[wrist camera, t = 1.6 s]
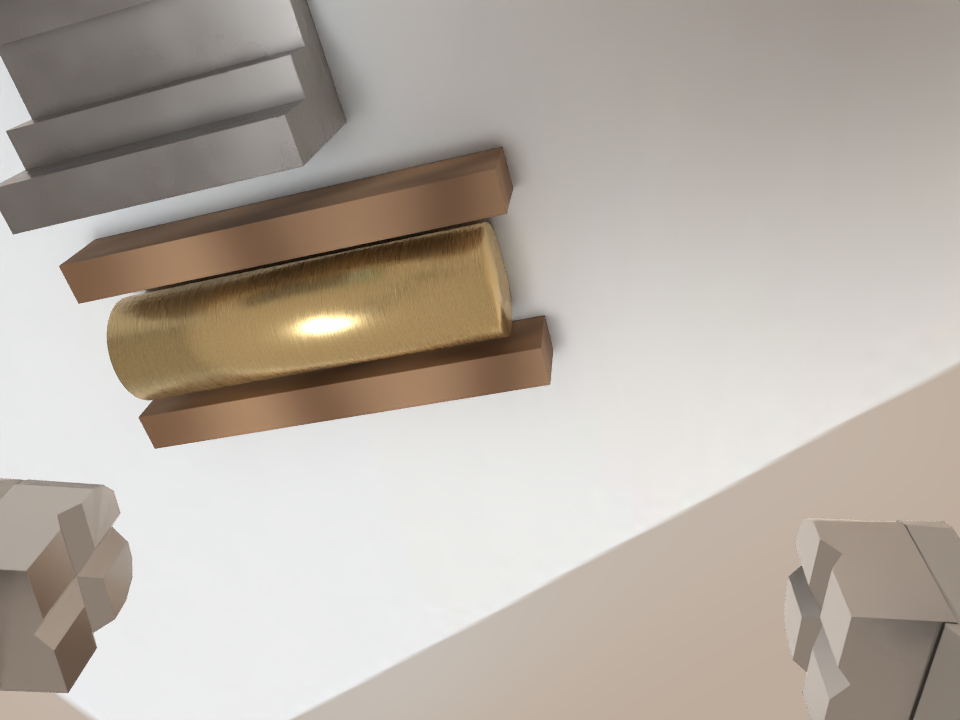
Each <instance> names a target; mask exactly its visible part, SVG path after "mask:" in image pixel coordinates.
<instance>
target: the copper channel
mask: <svg viewBox="0 0 960 720" xmlns="http://www.w3.org/2000/svg"><path fill="white" fill-rule="evenodd" d="M512 191H513V187H512V183H511V179H510V175H509V171H508V167H507V163H506V159H505V155H504V151H503V147H499V148H495V149H491V150H486V151H482V152H478V153H473V154H469V155H464V156H460V157H456V158H451V159H447V160H443V161H438V162H434V163H429V164H425V165H421V166H416V167H412V168H407V169H403V170H399V171H394V172H390V173H386V174H381V175H377V176H372V177H368V178H364V179H359V180H355V181H351V182H346V183H342V184H337V185H333V186H329V187H324V188H320V189H316V190H311V191H307V192H302V193H298V194H294V195H289V196H285V197H280V198H276V199H272V200H267V201H263V202H259V203H254V204H250V205H245V206H241V207H237V208H232V209H228V210H224V211H219V212H215V213H210V214H206V215H202V216H197V217H193V218H188V219H184V220H180V221H175V222H171V223H167V224H162V225H158V226H153V227H149V228H145V229H140V230H136V231H132V232H127V233H123V234H118V235H114V236H110V237H105V238H101V239H96V240H94V241H92V242H91V243H90V244H88V245H87V246H86V247H84V248H83V249H82V250H80V251H79V252H78V253H76V254H75V255H73V256H72V257H71V258H69V259H68V260H67V261H65V262H64V263H63V264H61V265H60V266H59V267H60V269H61V271H62V273H63V275H64V277H65V279H66V280H67V282H68V284H69V286H70V288H71V290H72V292H73V294H74V296H75V298H76V299H77V301H78V303H79V304H80V303H84V302H89V301H94V300H99V299H103V298H108V297H113V296H118V295H122V294H127V293H132V292H137V291H141V290H146V289H151V288H156V287H160V286H165V285H170V284H175V283H179V282H184V281H189V280H194V279H199V278H203V277H208V276H213V275H218V274H222V273H227V272H232V271H237V270H241V269H246V268H251V267H256V266H260V265H265V264H270V263H275V262H279V261H284V260H289V259H294V258H298V257H303V256H308V255H313V254H318V253H322V252H327V251H332V250H337V249H341V248H346V247H351V246H356V245H360V244H365V243H370V242H375V241H379V240H384V239H389V238H394V237H398V236H403V235H408V234H413V233H417V232H422V231H427V230H432V229H437V228H441V227H446V226H451V225H456V224H460V223H465V222H470V221H475V220H479V219H484V218H489V217H494V216H498V215H503V214H507V210H508V206H509V203H510V199H511V195H512ZM552 357H553V348H552V344H551V340H550V336H549V332H548V328H547V324H546V320H545V316H541V317H535V318H530V319H524V320H518V321H513V322H512V329H511V333H510V335H509V336H508V337H503V338H498V339H492V340H486V341H481V342H475V343H469V344H464V345H458V346H452V347H447V348H441V349H436V350H430V351H424V352H419V353H413V354H407V355H402V356H396V357H390V358H385V359H379V360H373V361H368V362H362V363H357V364H351V365H345V366H340V367H334V368H328V369H323V370H317V371H311V372H306V373H300V374H295V375H289V376H283V377H278V378H272V379H266V380H261V381H255V382H249V383H244V384H238V385H233V386H227V387H221V388H216V389H210V390H204V391H199V392H193V393H187V394H182V395H176V396H171V397H165V398H159V399H154V400H153V401H152V402H151V403H150V404H149V406H148V407H147V408H146V409H145V410H144V412H143V413H142V414H141V415H140V416H139V419H140V421H141V423H142V425H143V427H144V429H145V431H146V433H147V434H148V436H149V438H150V440H151V442H152V444H153V446H154V448H155V449H156V448H162V447H168V446H175V445H181V444H187V443H193V442H199V441H205V440H211V439H218V438H224V437H230V436H236V435H242V434H248V433H255V432H261V431H267V430H273V429H279V428H285V427H291V426H298V425H304V424H310V423H316V422H322V421H328V420H335V419H341V418H347V417H353V416H359V415H365V414H371V413H378V412H384V411H390V410H396V409H402V408H408V407H415V406H421V405H427V404H433V403H439V402H445V401H451V400H458V399H464V398H470V397H476V396H482V395H488V394H495V393H501V392H507V391H513V390H519V389H525V388H531V387H538V386H544V385H550V381H551V369H552Z"/></svg>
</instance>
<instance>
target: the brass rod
mask: <svg viewBox="0 0 960 720" xmlns="http://www.w3.org/2000/svg"><path fill="white" fill-rule="evenodd" d="M511 329H512V306H511V297H510V289H509V283H508V278H507V275H506V271H505V267H504V263H503V259H502V256H501V252H500V248H499V244H498V241H497V237H496V234H495V232H494V230H493V228H492V226H491V225H490V224H489V223H488V222H483V223H478V224H473V225H469V226H464V227H459V228H454V229H450V230H445V231H440V232H435V233H430V234H426V235H421V236H416V237H411V238H407V239H402V240H397V241H392V242H387V243H383V244H378V245H373V246H368V247H364V248H359V249H354V250H349V251H344V252H340V253H335V254H330V255H325V256H321V257H316V258H311V259H306V260H301V261H297V262H292V263H287V264H282V265H278V266H273V267H268V268H263V269H258V270H254V271H249V272H244V273H239V274H235V275H230V276H225V277H220V278H215V279H211V280H206V281H201V282H196V283H192V284H187V285H182V286H177V287H172V288H168V289H163V290H158V291H153V292H149V293H144V294H139V295H134V296H129V297H125V298H123V299H121V300H120V301H119V302H118V303H117V304H116V305H115V306H114V308H113V310H112V312H111V314H110V317H109V321H108V326H107V345H108V351H109V356H110V360H111V363H112V366H113V368H114V370H115V373H116V375H117V376H118V378H119V380H120V381H121V383H122V384H123V386H124V387H125V388H126V389H127V390H128V391H129V392H130V393H131V394H133V395H134V396H136V397H138V398H140V399H143V400H154V399H159V398H165V397H171V396H176V395H182V394H187V393H193V392H199V391H204V390H210V389H216V388H221V387H227V386H233V385H238V384H244V383H249V382H255V381H261V380H266V379H272V378H278V377H283V376H289V375H295V374H300V373H306V372H311V371H317V370H323V369H328V368H334V367H340V366H345V365H351V364H357V363H362V362H368V361H373V360H379V359H385V358H390V357H396V356H402V355H407V354H413V353H419V352H424V351H430V350H436V349H441V348H447V347H452V346H458V345H464V344H469V343H475V342H481V341H486V340H492V339H498V338H503V337H508V336H509V335H510V333H511Z"/></svg>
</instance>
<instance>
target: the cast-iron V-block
mask: <svg viewBox="0 0 960 720" xmlns="http://www.w3.org/2000/svg"><path fill="white" fill-rule="evenodd" d="M0 56H1V58H2V60H3V62H4V64H5V66H6V68H7V70H8V72H9V74H10V76H11V78H12V80H13V82H14V84H15V86H16V88H17V90H18V92H19V94H20V96H21V98H22V100H23V102H24V104H25V106H26V108H27V110H28V112H29V114H30V116H31V118H32V120H30V121H28V122H26V123H23V124H21V125H19V126H17V127H14V128H12V129H10V130H7V131H6V132H7V134H8V136H9V138H10V140H11V142H12V144H13V146H14V148H15V150H16V152H17V154H18V155H19V157H20V159H21V161H22V163H23V165H24V167H25V169H26V170H25V171H23V172H21V173H19V174H17V175H15V176H13V177H11V178H10V179H8V180H6V181H4V182H2V183H0V211H1V213H2V215H3V217H4V219H5V220H6V222H7V224H8V226H9V228H10V230H11V231H12V233H13V234H17V233H21V232H25V231H30V230H34V229H38V228H42V227H47V226H51V225H55V224H59V223H64V222H68V221H72V220H76V219H81V218H85V217H89V216H93V215H98V214H102V213H106V212H110V211H114V210H119V209H123V208H127V207H131V206H136V205H140V204H144V203H148V202H153V201H157V200H161V199H165V198H170V197H174V196H178V195H182V194H187V193H191V192H195V191H199V190H204V189H208V188H212V187H216V186H221V185H225V184H229V183H233V182H237V181H242V180H246V179H250V178H254V177H259V176H263V175H267V174H271V173H276V172H280V171H284V170H288V169H293V168H297V167H301V166H304V165H305V164H306V163H307V162H308V161H309V160H310V159H311V158H312V157H313V156H314V155H315V154H316V153H317V152H318V150H319V149H320V148H321V147H322V146H323V145H324V144H325V143H326V142H327V141H328V140H329V139H330V138H331V137H332V136H333V135H334V134H335V133H336V132H337V131H338V130H339V129H340V128H341V127H342V126H343V125H344V124H345V123H346V120H345V117H344V114H343V111H342V108H341V105H340V102H339V99H338V96H337V93H336V90H335V87H334V84H333V81H332V78H331V75H330V72H329V68H328V65H327V62H326V59H325V56H324V53H323V50H322V47H321V44H320V41H319V38H318V35H317V32H316V29H315V26H314V23H313V20H312V17H311V14H310V11H309V8H308V5H307V2H306V0H0Z"/></svg>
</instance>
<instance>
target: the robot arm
mask: <svg viewBox="0 0 960 720" xmlns="http://www.w3.org/2000/svg"><path fill="white" fill-rule="evenodd" d="M119 514H120V510H119V507H118V504H117V501H116V497H115V494H114V491H113V490H111V489H109V488H108V487H106V486H104V485H98V484H83V483H69V482H54V481H40V480H20V479H2V478H0V690H2V691H27V692H53V693H69V691H70V689H71V688H72V686H73V685H74V683H75V682H76V680H77V678H78V677H79V675H80V674H81V672H82V671H83V669H84V667H85V666H86V664H87V663H88V661H89V660H90V658H91V656H92V655H93V653H94V652H95V650H96V649H97V646H96V642H95V638H94V634H93V633H94V632H95V631H97V630H99V629H100V628H102V627H103V626H105V625H106V624H108V623H110V622H111V621H113V620H114V619H115V618H116V617H117V615H118V613H119V611H120V610H121V608H122V606H123V605H124V603H125V601H126V599H127V595H128V591H129V587H130V584H131V580H132V556H131V552H130V548H129V544H128V542H127V541H126V540H125V539H124V538H123V537H122V536H121V535H120V534H119V533H118V532H117V531H116V530H115V529H114V528H113V527H112V526H113V524H114V523H115V521H116V519H117V518H118V516H119ZM795 547H796V550H797V553H798V556H799V559H800V562H801V565H802V566H801V567H799V568H798V569H797V570H796V571H795V572H793V573H792V574H791V575H790V576H789V578H788V584H787V589H786V595H785V627H786V634H787V641H788V644H789V648H790V651H791V655H792V659H793V660H794V661H795V662H796V663H797V664H798V665H800V666H801V667H802V668H803V669H804V670H805V671H806V672H807V674H806V679H805V683H804V688H803V696H804V699H805V702H806V705H807V708H808V712H809V715H810V718H811V720H960V538H959V537H958V535H957V533H956V532H955V530H954V529H953V527H952V526H950V525H949V524H947V523H945V522H943V521H901V520H897V521H896V522H889V521H864V520H840V519H817V518H804V520H803V522H802V524H801V526H800V528H799V531H798V536H797V540H796V544H795Z"/></svg>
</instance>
